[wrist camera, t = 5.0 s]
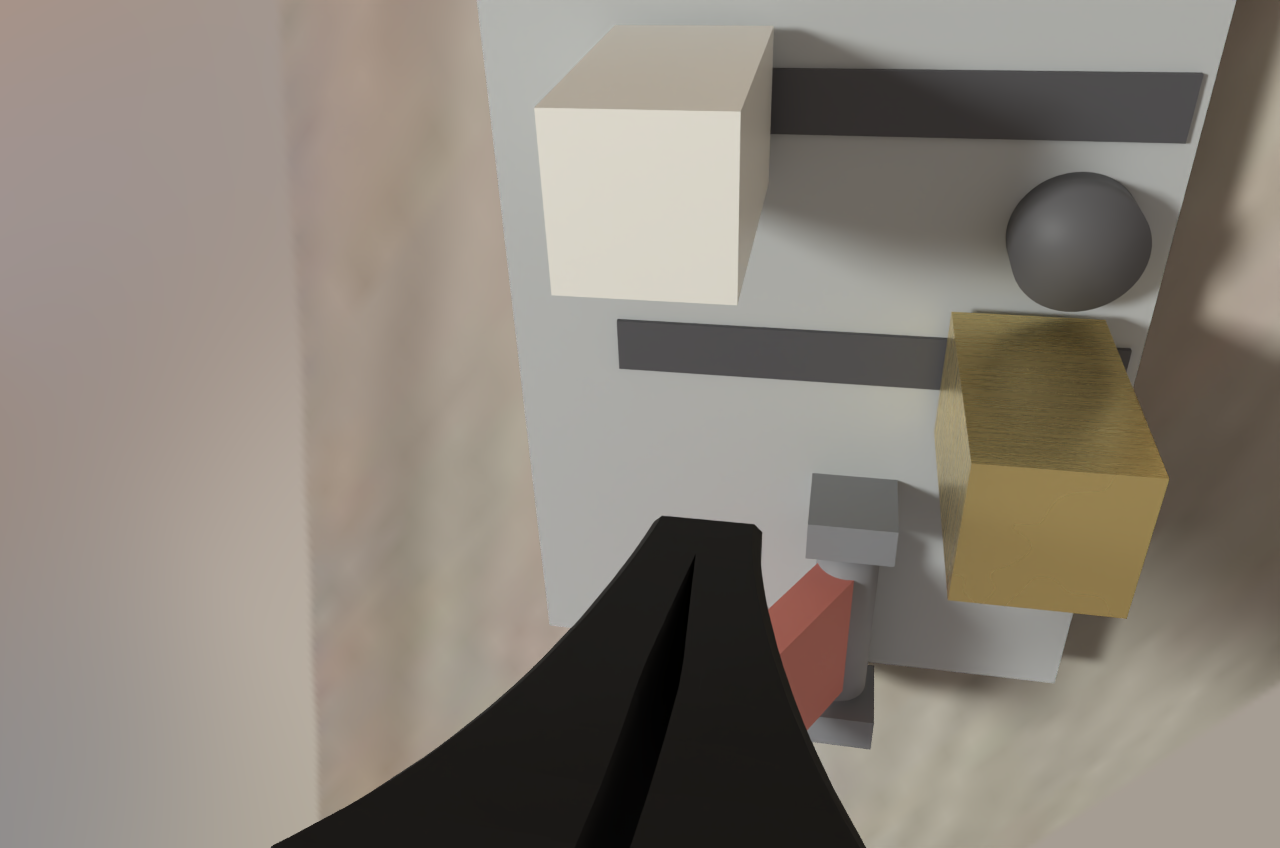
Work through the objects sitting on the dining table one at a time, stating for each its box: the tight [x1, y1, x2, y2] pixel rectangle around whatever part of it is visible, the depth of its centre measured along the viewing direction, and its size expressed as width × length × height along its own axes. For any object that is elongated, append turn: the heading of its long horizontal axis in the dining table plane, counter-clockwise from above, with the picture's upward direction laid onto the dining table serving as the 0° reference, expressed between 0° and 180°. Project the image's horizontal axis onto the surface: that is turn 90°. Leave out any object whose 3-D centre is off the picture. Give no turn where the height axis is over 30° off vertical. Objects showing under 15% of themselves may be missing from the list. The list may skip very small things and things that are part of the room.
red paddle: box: [768, 559, 880, 730], centre depth 19 cm, size 4×1×7 cm, turn 2°
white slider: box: [534, 25, 774, 305], centre depth 14 cm, size 2×2×4 cm
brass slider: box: [934, 312, 1169, 619], centre depth 15 cm, size 2×2×4 cm
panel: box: [477, 0, 1236, 749], centre depth 19 cm, size 15×11×3 cm
